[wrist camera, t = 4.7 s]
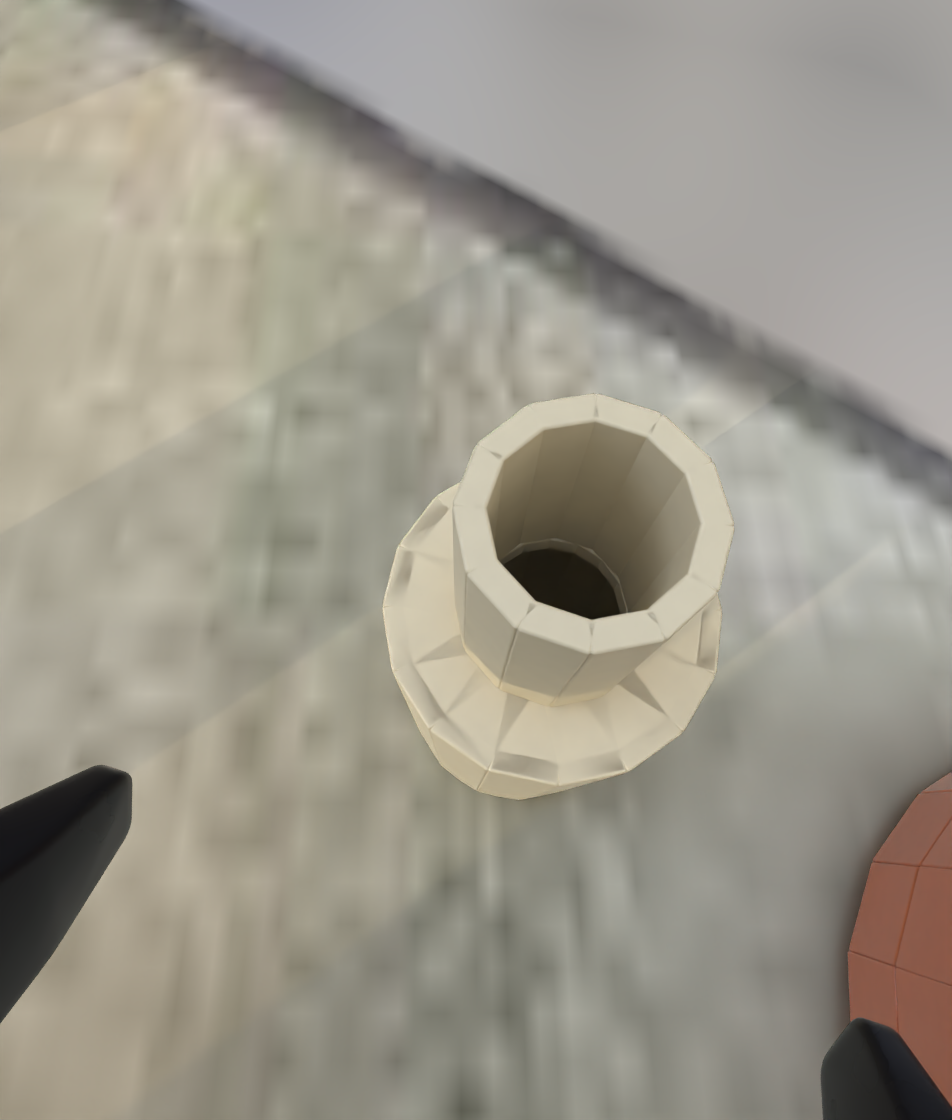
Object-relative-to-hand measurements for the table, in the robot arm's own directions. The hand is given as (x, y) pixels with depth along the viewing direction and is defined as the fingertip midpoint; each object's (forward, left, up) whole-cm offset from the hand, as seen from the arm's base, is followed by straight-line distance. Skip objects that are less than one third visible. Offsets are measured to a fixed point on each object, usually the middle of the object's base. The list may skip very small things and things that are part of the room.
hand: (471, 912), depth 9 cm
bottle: (+2, +4, -11) cm, 12 cm away
